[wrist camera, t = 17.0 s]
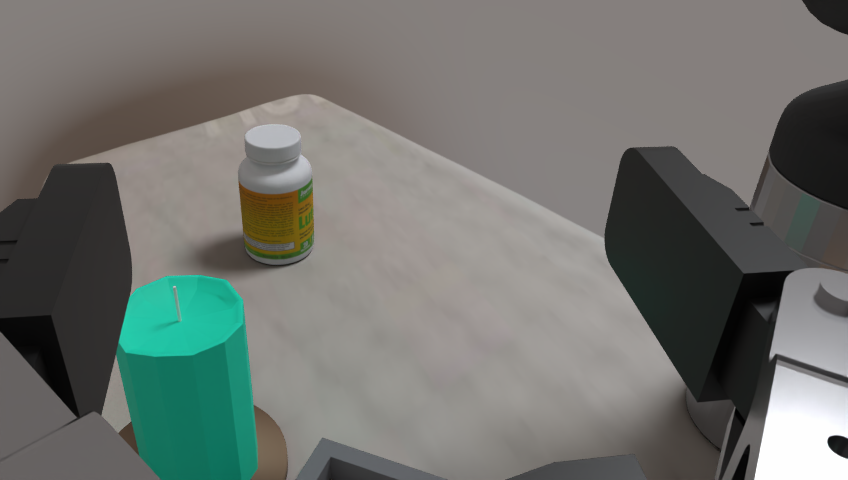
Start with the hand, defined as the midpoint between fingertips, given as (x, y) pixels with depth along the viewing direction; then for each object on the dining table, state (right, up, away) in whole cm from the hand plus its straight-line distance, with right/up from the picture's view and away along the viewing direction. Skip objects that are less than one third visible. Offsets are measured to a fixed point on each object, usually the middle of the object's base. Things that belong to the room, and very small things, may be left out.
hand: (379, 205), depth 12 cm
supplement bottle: (-11, -1, +48) cm, 49 cm away
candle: (-11, -13, +29) cm, 34 cm away
